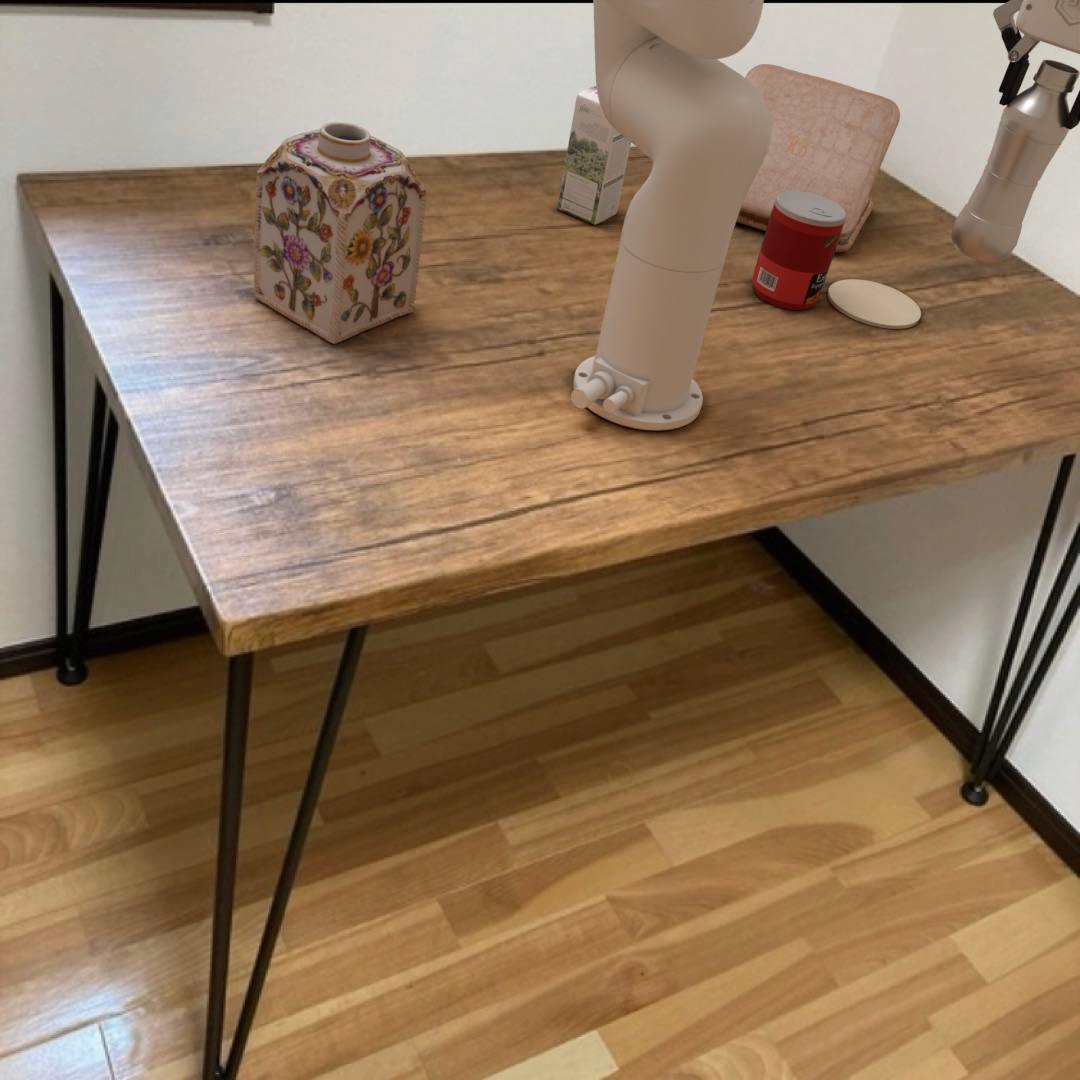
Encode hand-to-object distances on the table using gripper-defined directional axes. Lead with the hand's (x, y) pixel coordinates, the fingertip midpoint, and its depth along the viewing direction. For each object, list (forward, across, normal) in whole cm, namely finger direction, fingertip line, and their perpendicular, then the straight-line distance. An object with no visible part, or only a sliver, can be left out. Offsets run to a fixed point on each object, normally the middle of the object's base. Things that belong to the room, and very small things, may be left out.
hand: (1039, 112), depth 123 cm
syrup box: (+27, -45, -4) cm, 53 cm away
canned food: (+27, -18, -3) cm, 33 cm away
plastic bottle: (+16, 0, 0) cm, 16 cm away
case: (+27, -30, +20) cm, 45 cm away
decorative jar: (+28, -48, -46) cm, 72 cm away
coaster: (+27, -10, +4) cm, 29 cm away
